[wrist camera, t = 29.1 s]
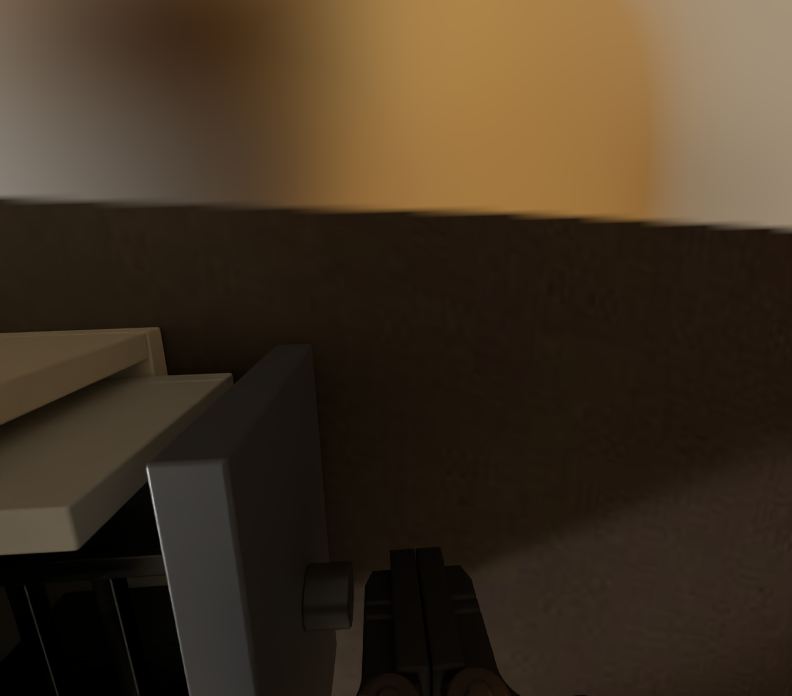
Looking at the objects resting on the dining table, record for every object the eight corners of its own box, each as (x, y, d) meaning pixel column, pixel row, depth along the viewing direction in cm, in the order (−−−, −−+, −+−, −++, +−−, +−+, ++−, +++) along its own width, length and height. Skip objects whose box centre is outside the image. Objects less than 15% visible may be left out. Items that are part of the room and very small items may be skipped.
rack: (33, 477, 13) (-115, 573, 9) (252, 463, 13) (200, 551, 9) (68, 606, 14) (-49, 739, 10) (270, 591, 14) (230, 717, 10)
